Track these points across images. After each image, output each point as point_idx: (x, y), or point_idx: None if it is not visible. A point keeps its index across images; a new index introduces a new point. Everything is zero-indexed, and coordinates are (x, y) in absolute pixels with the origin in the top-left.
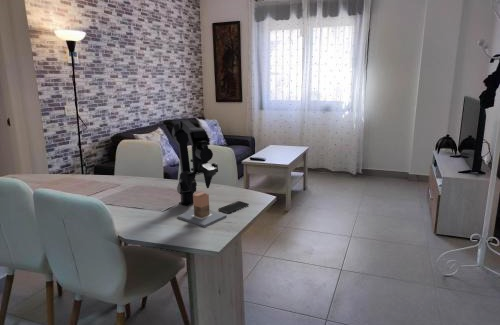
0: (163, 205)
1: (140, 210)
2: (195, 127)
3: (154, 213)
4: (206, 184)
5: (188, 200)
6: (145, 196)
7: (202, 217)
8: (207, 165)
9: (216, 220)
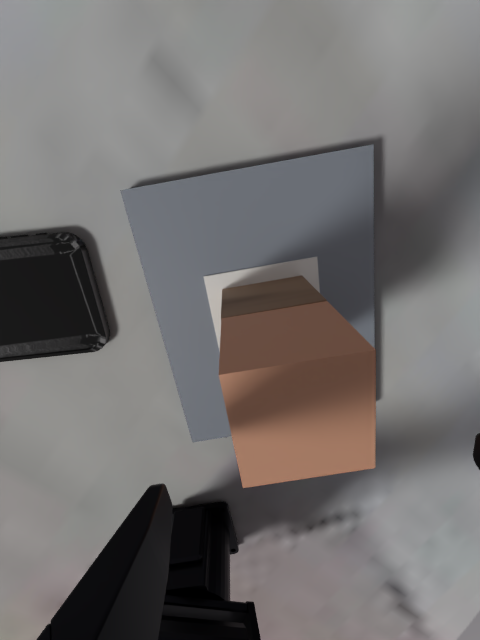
0: (304, 565)
1: (412, 571)
2: None
3: (399, 515)
4: (161, 571)
5: (208, 534)
6: None
7: (296, 276)
8: None
9: (241, 168)
